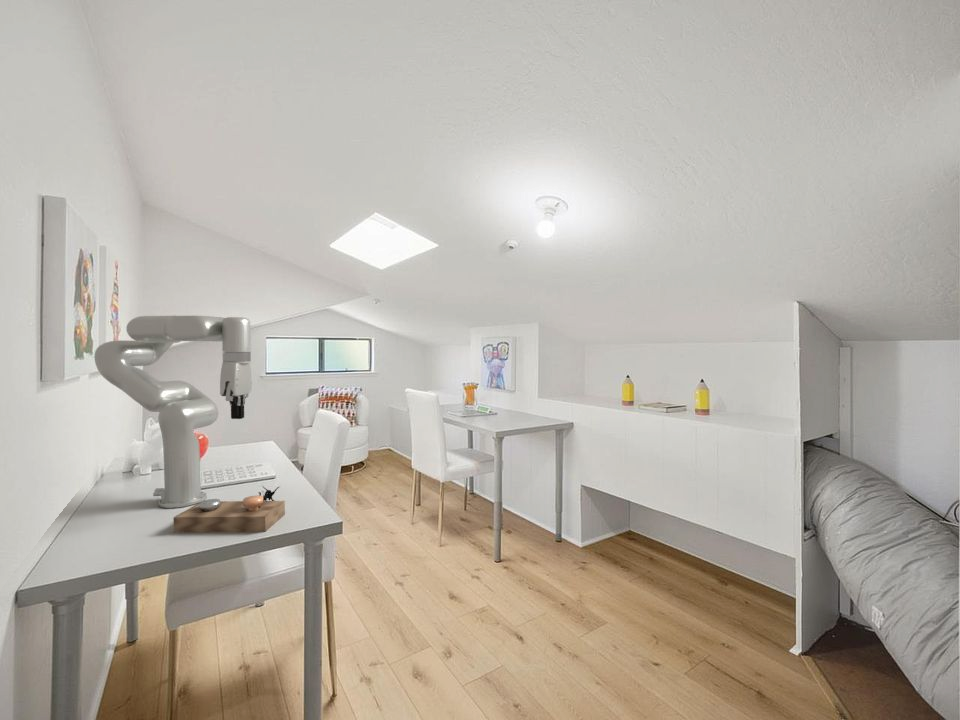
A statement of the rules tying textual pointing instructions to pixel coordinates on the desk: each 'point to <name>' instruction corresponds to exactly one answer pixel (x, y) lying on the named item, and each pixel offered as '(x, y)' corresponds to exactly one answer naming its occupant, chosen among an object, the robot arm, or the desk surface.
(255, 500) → the terracotta plug
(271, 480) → the desk surface
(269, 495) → the creature
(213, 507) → the grey plug
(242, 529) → the block
